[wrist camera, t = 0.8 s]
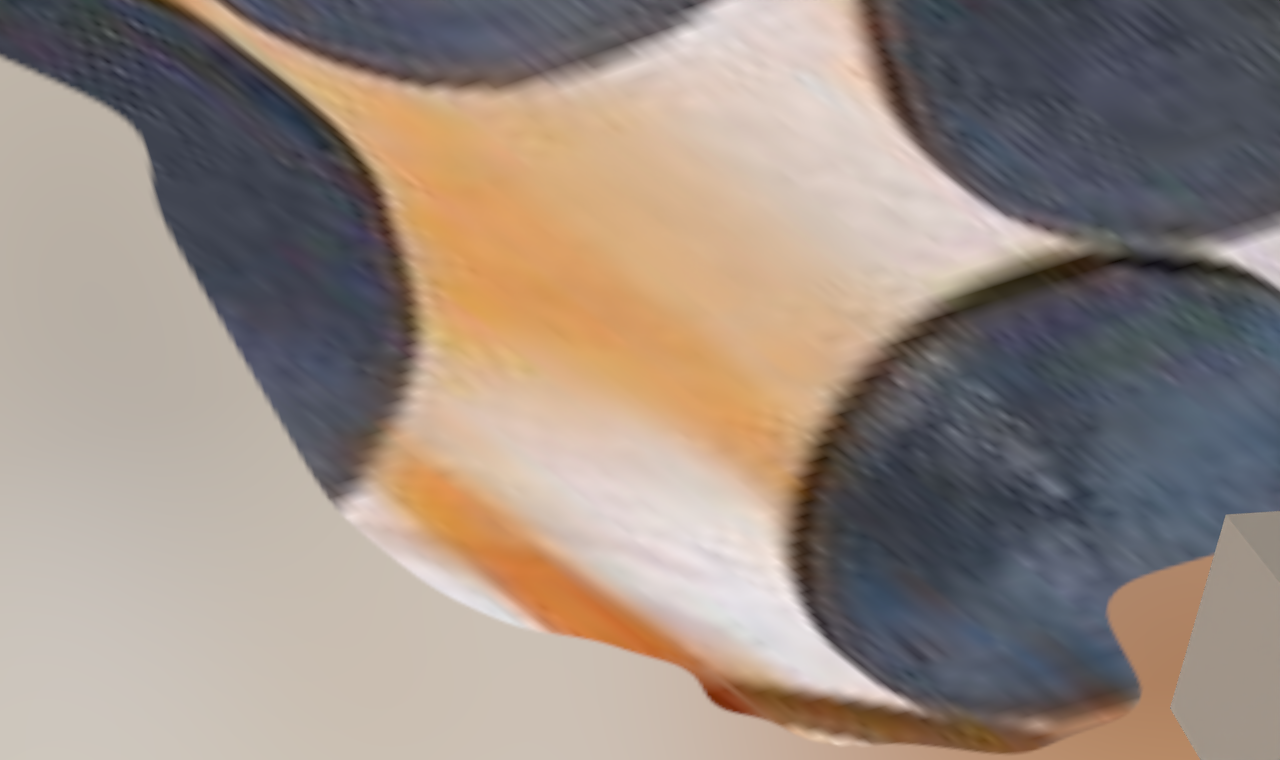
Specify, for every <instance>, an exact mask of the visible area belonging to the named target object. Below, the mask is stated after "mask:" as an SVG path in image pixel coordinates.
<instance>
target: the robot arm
mask: <svg viewBox="0 0 1280 760" xmlns="http://www.w3.org/2000/svg"><path fill="white" fill-rule="evenodd" d="M1170 709H1171V710H1172V712H1173V714H1174V716H1175V717H1176V719H1177V721H1178V722H1179V724H1180V726H1181V728H1182V729H1183V731H1184V733H1185V734H1186V736H1187V738H1188V739H1189V741H1190V743H1191V745H1192V746H1193V748H1194V750H1195V751H1196V753H1197V755H1198V756H1199V758H1200V760H1280V511H1276V512H1261V513H1246V514H1230V515H1226V516H1225V520H1224V523H1223V527H1222V530H1221V534H1220V537H1219V540H1218V544H1217V547H1216V551H1215V554H1214V558H1213V561H1212V565H1211V568H1210V572H1209V575H1208V579H1207V582H1206V586H1205V589H1204V593H1203V596H1202V599H1201V603H1200V606H1199V610H1198V613H1197V617H1196V621H1195V624H1194V627H1193V631H1192V634H1191V638H1190V642H1189V645H1188V648H1187V652H1186V655H1185V659H1184V662H1183V666H1182V669H1181V672H1180V676H1179V679H1178V683H1177V686H1176V690H1175V693H1174V697H1173V700H1172V704H1171V707H1170Z"/></svg>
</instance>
